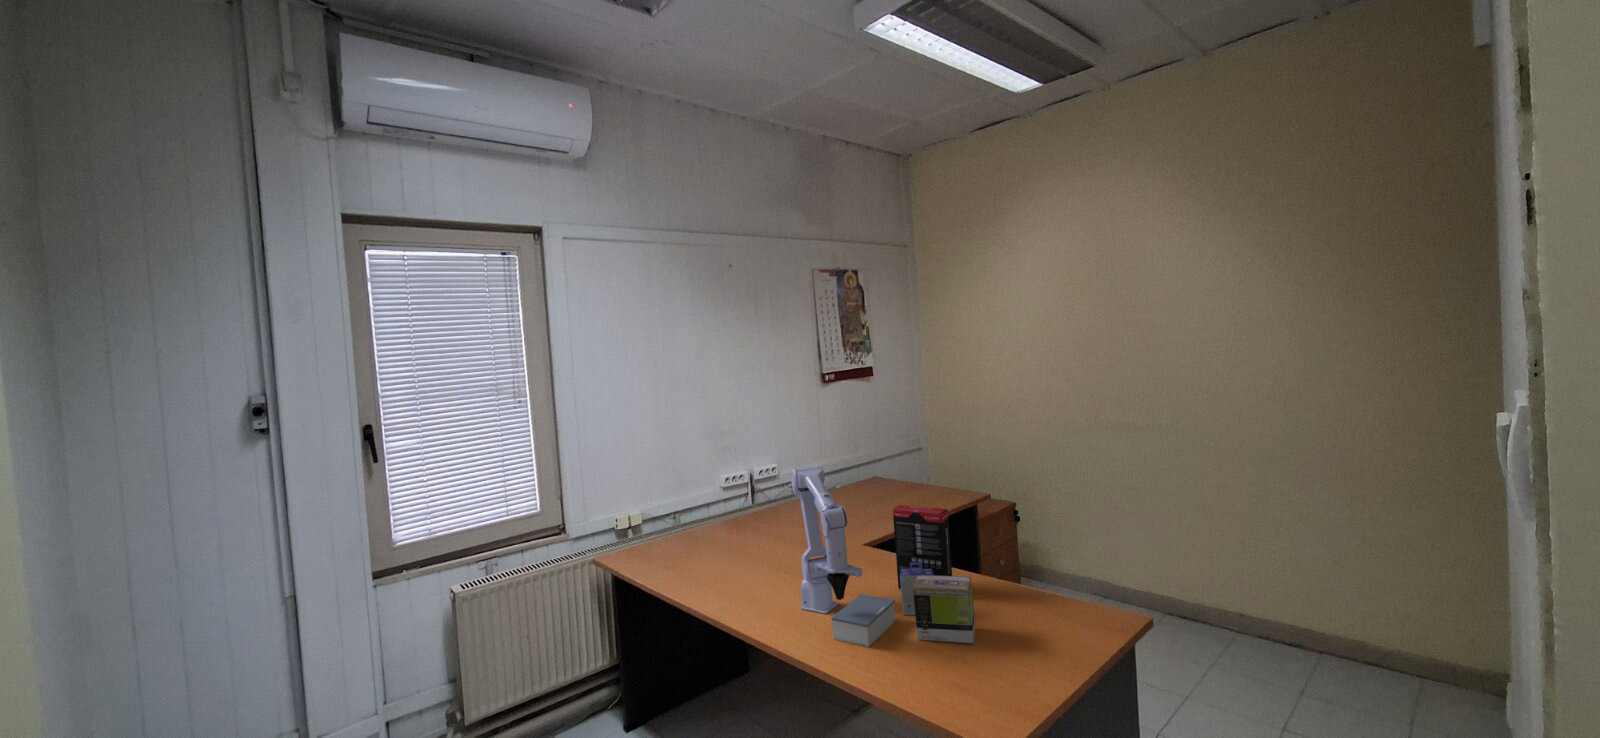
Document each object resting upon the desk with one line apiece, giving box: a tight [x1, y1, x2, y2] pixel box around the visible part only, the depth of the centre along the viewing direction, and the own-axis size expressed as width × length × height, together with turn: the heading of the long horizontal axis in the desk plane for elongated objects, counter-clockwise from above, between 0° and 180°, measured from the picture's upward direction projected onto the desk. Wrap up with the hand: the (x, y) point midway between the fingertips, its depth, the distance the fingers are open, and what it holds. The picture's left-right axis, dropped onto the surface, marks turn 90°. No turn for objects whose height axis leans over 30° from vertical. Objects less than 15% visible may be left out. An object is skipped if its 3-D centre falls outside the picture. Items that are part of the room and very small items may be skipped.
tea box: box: [913, 575, 976, 645], centre depth 165 cm, size 15×10×15 cm, turn 71°
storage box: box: [831, 603, 896, 648], centre depth 171 cm, size 11×17×6 cm, turn 146°
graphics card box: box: [892, 504, 953, 590], centre depth 195 cm, size 17×7×27 cm, turn 58°
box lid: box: [831, 593, 896, 627], centre depth 171 cm, size 11×17×1 cm, turn 146°
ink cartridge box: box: [900, 562, 933, 616], centre depth 180 cm, size 10×6×14 cm, turn 78°
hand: (840, 598), depth 170 cm, fingers closed
